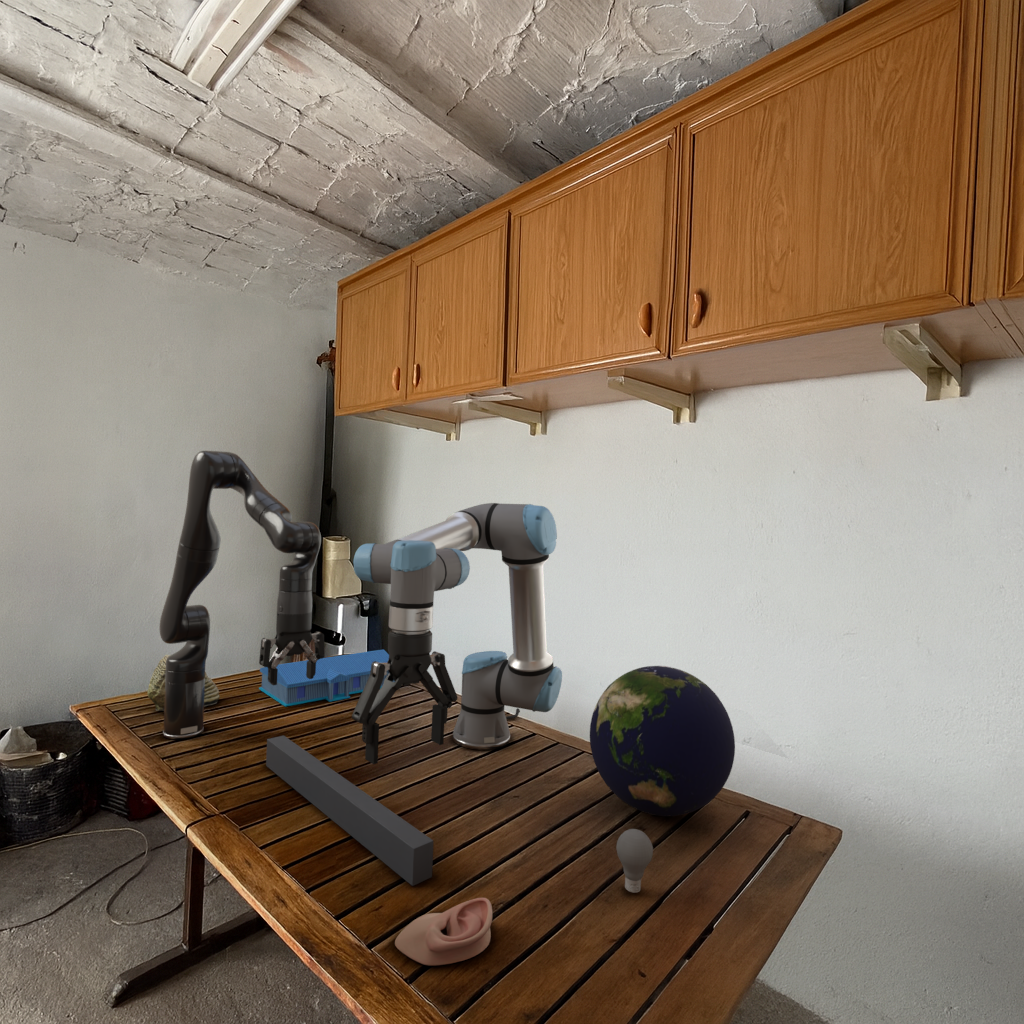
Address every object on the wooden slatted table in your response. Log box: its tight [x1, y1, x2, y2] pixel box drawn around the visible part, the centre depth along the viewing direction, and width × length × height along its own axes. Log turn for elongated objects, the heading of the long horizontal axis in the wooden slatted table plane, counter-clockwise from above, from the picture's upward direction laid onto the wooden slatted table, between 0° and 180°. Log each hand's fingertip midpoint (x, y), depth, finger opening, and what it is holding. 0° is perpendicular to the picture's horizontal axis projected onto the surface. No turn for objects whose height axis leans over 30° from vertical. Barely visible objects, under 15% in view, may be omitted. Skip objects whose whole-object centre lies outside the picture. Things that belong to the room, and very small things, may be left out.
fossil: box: [147, 654, 221, 712], centre depth 185 cm, size 9×18×15 cm, turn 132°
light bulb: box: [615, 828, 654, 894], centre depth 106 cm, size 6×6×10 cm
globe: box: [589, 665, 736, 817], centre depth 135 cm, size 30×30×30 cm
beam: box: [265, 735, 434, 887], centre depth 127 cm, size 60×4×6 cm, turn 44°
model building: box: [258, 649, 395, 707], centre depth 208 cm, size 39×24×10 cm, turn 132°
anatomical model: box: [394, 897, 493, 967], centre depth 92 cm, size 13×4×12 cm
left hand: (291, 681), depth 143 cm, fingers open, 8 cm apart
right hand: (405, 751), depth 110 cm, fingers open, 13 cm apart
